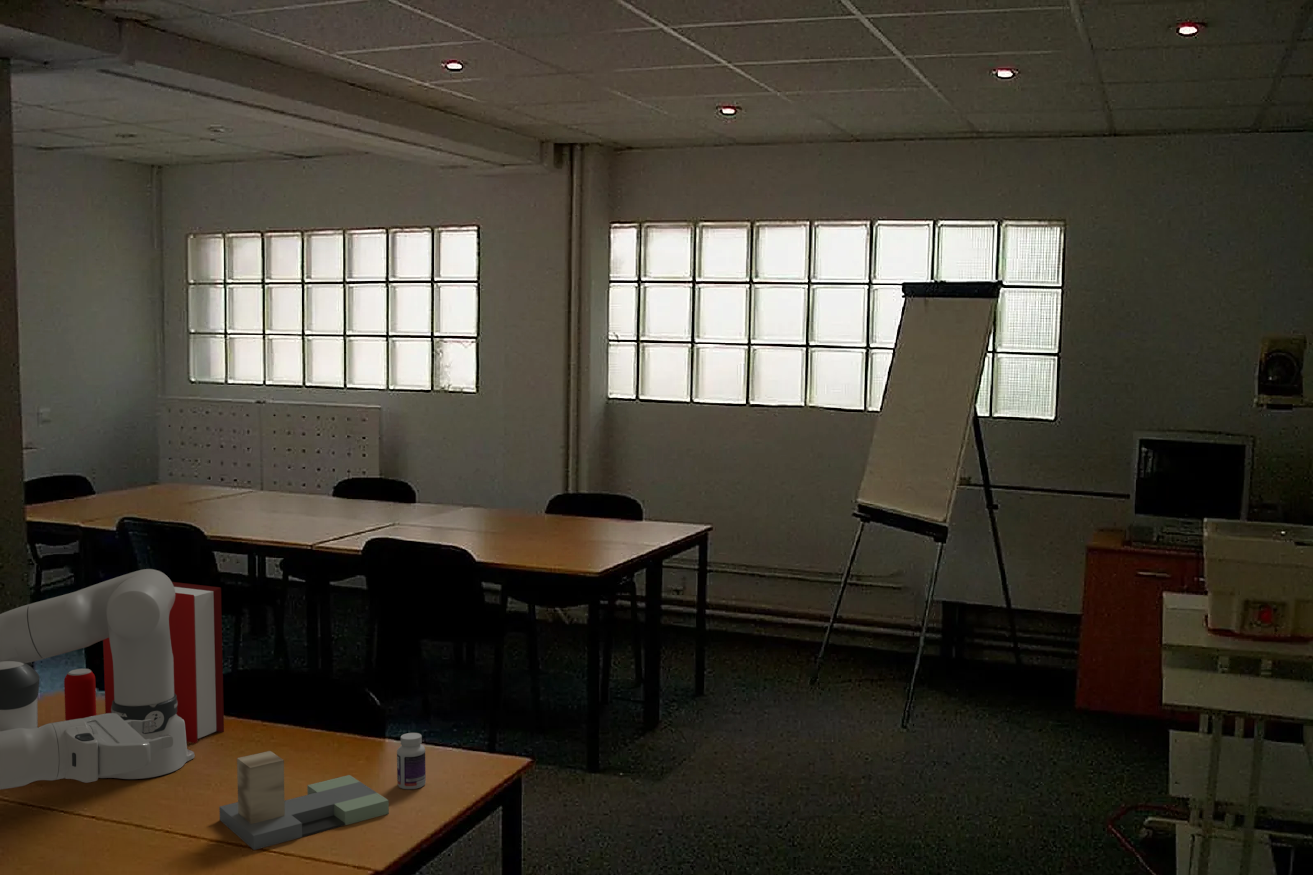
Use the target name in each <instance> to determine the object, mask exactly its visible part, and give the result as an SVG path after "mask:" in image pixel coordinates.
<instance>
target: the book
mask: <svg viewBox="0 0 1313 875" xmlns="http://www.w3.org/2000/svg"><path fill="white" fill-rule="evenodd" d="M171 582H172V584H173V586H174V589H175V601H174V604H173V607H172V609H171V610H170V614H169V630H170V640H171V647H172V653H173V661H174V693H175V694H176V696H177V702H178V705H177V713H176V714H177V715H178V716H179V717H181V718H182V719H183V720H184V722H185V731H186V743H187V742H188V743H192V744H198V741H199V740H198V739H201V738H203V737H205V736H208V735H212V734H214V733H215V732H221V733H224V732H225V721H224V719H225V718H224V716H225V715H224V714H225V713H224V712H225V711H224V673H223V672H224V669H223V668H224V667H223V661H224V660H223V624H222V623H223V622H222V621H223V620H222V618H223V617H222V614H223V613H222V587H219V586H210V585H202V584H201V585H200V584H193V583H183V582H175V581H171ZM102 642H103V643H102V644H103V645H102V646H103V671H104V672H103V674H104V677H103V678H104V680H103V681H104V707H105V709H104V711H105V712H104V714H106V713H111V706H112V702H113V700H114V672H113V658H112V652H111V646H110V639H109V638H107V639H104V640H102Z"/></svg>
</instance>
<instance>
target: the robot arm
mask: <svg viewBox="0 0 1313 875" xmlns="http://www.w3.org/2000/svg"><path fill="white" fill-rule="evenodd" d="M172 582H173V581H172V580H171V579H170V577H168V575H166V574H165V573H164V572H162V571H161V570H157V569H153V568H146V569H145V568H144V569H140V570H136V571H132V572H129V573H126V574H123V575H120V576H116V577H114V578H110V579H107V580H104V581H102V582H99V583H96V584H93V585H89V586H87V587H85V588H81V589H78V590H76V591H73V592H70V593H65V594H63V595H58V596H55V597H50V598H46V599H43V600H40V601H36V602H32V603H28V604H26V605H22V606H19V607H16V608H13V609H10V610H7V611H4V612H2V613H0V790H7V789H13V788H19V787H24V786H27V785H28V784H30V783H34V782H36V781H37V782H38V781H56V780H60V779H61V780H62V779H67V780H70V779H71V780H76V781H78V782H82V783H91V782H96V781H98V780H99V779H107V778H108V779H112V778H114V779H123V780H138V779H140V780H141V779H150V778H155V777H159V776H164V775H167V774H170V773H173V772H175V771H178V770H179V769H181V768H182V767H183V766H184V765H185V764H186V763H187V762H188V761H191V760H192V759H194V758H195V757H196V756H195V751H192V750H190V749H188V744H187V742H186V731H185V722H184V720H183V719H182V718H181V717H179V716H178V715H177V714H176V713H177V705H178V702H177V696H176V694H175V693H174V661H173V653H172V647H171V640H170V630H169V614H170V610H171V609H172V607H173V604H174V601H175V589H174V586H173V584H172ZM107 638H109V639H110V646H111V652H112V658H113V672H114V700H113V702H112V706H111V713H106V714H105V713H102V714H96V716H91V717H86V718H80V719H73V720H67V721H65V720H63V721H62V720H61V721H56V722H49V723H46V724H43V725H41V726H39V722H38V720H39V718H38V715H39V714H38V711H39V710H38V708H39V707H38V696H39V689H40V678H41V677H40V675H39V673H38V672H37V671H36V670H35V669H34V668H33V667H32V666H30V665H29V663H33V662H38V661H41V660H45V659H49V658H51V657H55V656H59V655H63V654H67V653H71V652H73V651H76V650H80V649H85V648H88V647H91V646H93V645H94V644H96V643H98V642H99V643H100V642H101V641H102V642H103V640H104V639H107ZM38 726H39V727H38Z"/></svg>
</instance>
